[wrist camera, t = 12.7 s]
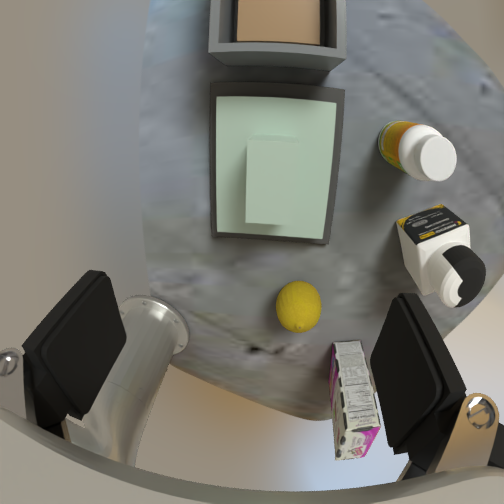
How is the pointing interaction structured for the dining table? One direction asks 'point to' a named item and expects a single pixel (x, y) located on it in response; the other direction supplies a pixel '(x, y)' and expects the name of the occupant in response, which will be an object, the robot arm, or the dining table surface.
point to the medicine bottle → (441, 255)
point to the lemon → (298, 306)
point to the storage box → (278, 33)
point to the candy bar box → (352, 401)
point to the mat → (279, 92)
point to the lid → (273, 165)
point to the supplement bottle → (417, 150)
